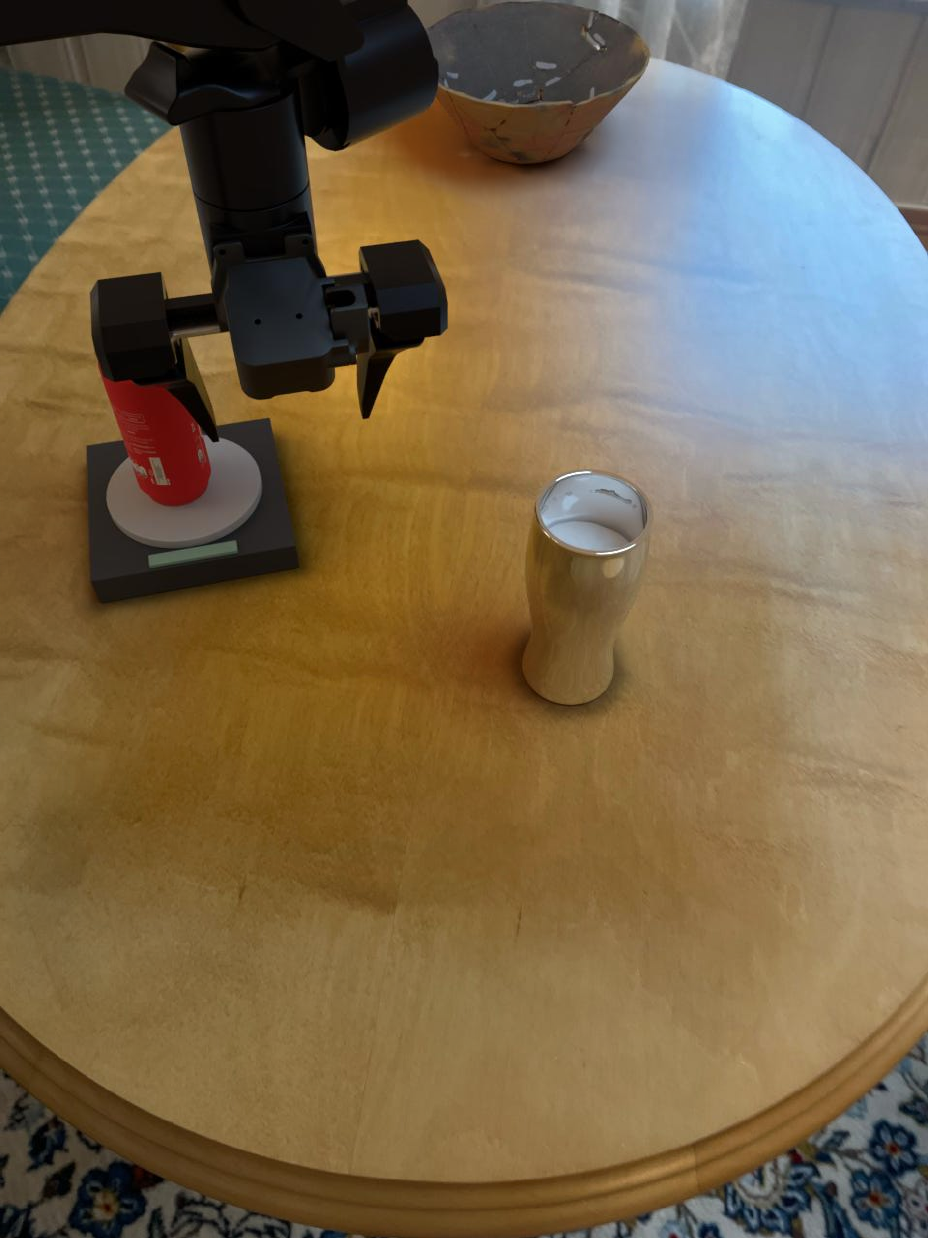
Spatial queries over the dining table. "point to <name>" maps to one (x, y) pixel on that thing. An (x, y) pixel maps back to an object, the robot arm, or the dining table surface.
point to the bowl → (533, 75)
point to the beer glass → (582, 580)
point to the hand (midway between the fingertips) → (291, 426)
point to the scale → (189, 519)
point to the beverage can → (160, 442)
